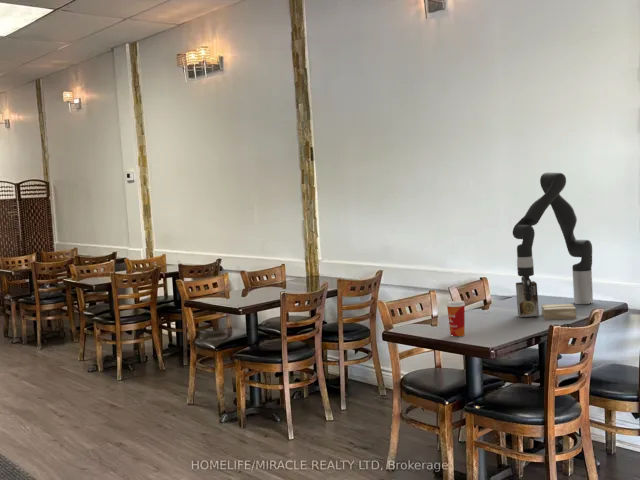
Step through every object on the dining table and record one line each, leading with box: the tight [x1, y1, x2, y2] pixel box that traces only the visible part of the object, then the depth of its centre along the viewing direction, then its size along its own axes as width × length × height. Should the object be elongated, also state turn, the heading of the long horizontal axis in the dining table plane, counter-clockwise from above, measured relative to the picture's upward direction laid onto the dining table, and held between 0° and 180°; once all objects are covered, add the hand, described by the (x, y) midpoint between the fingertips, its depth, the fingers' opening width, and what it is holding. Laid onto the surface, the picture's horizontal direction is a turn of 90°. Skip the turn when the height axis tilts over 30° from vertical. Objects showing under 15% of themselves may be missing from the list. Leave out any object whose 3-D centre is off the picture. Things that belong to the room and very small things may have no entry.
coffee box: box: [515, 280, 540, 318], centre depth 322 cm, size 9×6×16 cm
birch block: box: [541, 303, 577, 320], centre depth 319 cm, size 13×14×5 cm
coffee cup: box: [446, 300, 466, 337], centre depth 293 cm, size 8×8×15 cm
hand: (527, 299), depth 322 cm, fingers closed on coffee box, 6 cm apart
